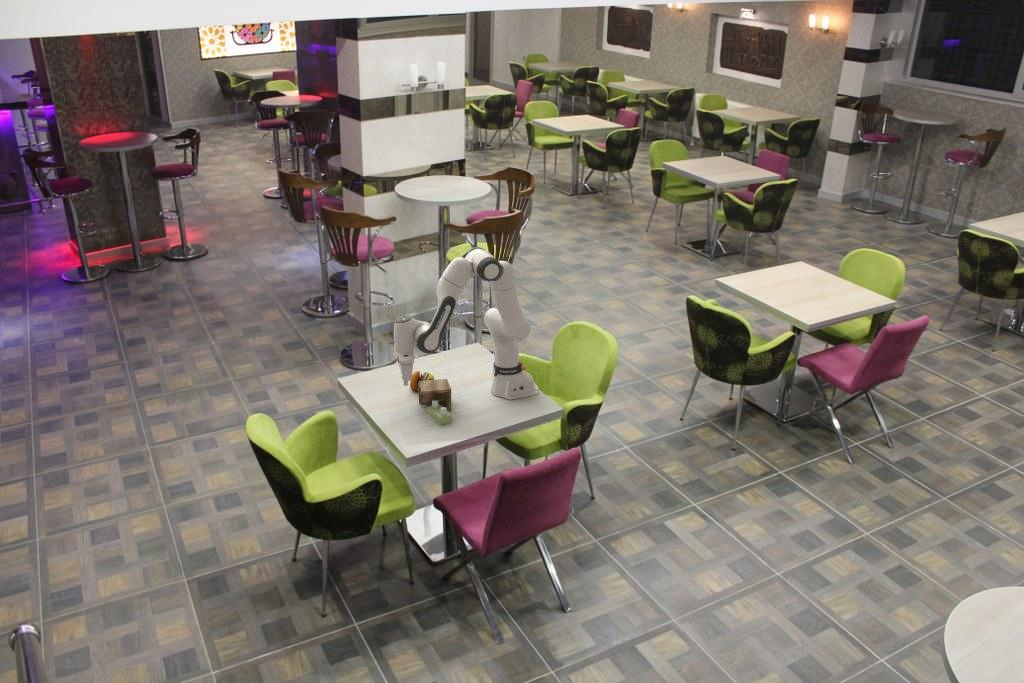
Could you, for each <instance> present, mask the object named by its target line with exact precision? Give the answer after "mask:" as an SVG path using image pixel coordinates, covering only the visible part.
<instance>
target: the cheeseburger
mask: <svg viewBox="0 0 1024 683" xmlns="http://www.w3.org/2000/svg"><path fill="white" fill-rule="evenodd" d="M427 380H435V376H434V375H433V374H431V373H430V372H429V371H425V372H424V373H422V372H420V371H419V370H418V371H414V373H412V380H411V381H410V383H409V387H410V389H411V390H412V391H414V392H415V391H417V392H419V388H418V381H427Z"/></svg>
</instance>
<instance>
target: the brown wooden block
mask: <svg viewBox="0 0 1024 683" xmlns="http://www.w3.org/2000/svg"><path fill="white" fill-rule="evenodd" d="M418 388H419V391H418V404H419V405H420V404H428V403H432V401H433V400H438V403H439V402H444V403H445V405H446V408H447V411H448V412H451V411H452V388H451V386H450V383H449V380H448V378H443V379H442V378H441V379H434V380H427V381H418Z"/></svg>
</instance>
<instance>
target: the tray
mask: <svg viewBox="0 0 1024 683" xmlns="http://www.w3.org/2000/svg"><path fill="white" fill-rule="evenodd" d="M431 403H432V404H431V405H430V406H427V407H426V414H427V415H428V416H429V417H430V418H432V420H433V421H435V423H437V424H438V425H439V426H442V425H445V424H448V423H452V422H453V415H452V414H451V413H450V411H448V408H447V406H446V407H445V406H443V405H441V404H439V402H438V400H433V401H432V402H431Z"/></svg>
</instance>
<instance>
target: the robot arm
mask: <svg viewBox="0 0 1024 683" xmlns="http://www.w3.org/2000/svg"><path fill="white" fill-rule="evenodd" d="M474 276H477V277H478V278H479V279H481V280H483V281H485V282H489V284H490V286H489V287H490V292H491V301H492V303H493V306H494V307H491V308H489V309H488V310H487V311H486V312H485V314H484V317H483V322H484V325H485V326H486V328H487V329H488V331H489V333H490V336H491V339H492V344H493V348H494V352H493V353H494V362H493V367H492V374H493V379H492V383H491V387H490V393H491V394H492V395H494V396H497V397H500V398H505V399H507V400H509V401H511V400H516V399H522V398H526V397H532V396H537V395H538V394H539V392H540V388H539V386H538V385H537V384H536V383H535V381H534V377H533V376H532V375H531V374H530V373H529V372H527V371H526V366H525V365H523V363H522V362H521V361H520V360H519V358H520V357H519V356H520V354H519V351H520V348H519V346H518V343H517V342H516V341H518V342H522V341H525V340H526V339H527V338H528V337H529V336H530V334H531V332H532V327H531V322H529V321H528V319H527V318H526V317H525V315H524V313H523V310H522V308H521V306H520V303H519V300H518V296H517V287H516V286H517V285H516V279H515V273H514V270H513V267H512V264H511V263H510V262H508V261H506V260H498V259H497V258H496V257H495V256H493V254H491V252H488V251H487V250H486V249H484V248H483V247H480V246H479V247H478V246H474V247H471V248H470V249H468V250H467V251H466V252H465V253H464V254H463V255H462V257H461V256H459V257H458V256H457V257H455V258H453V260H452V261H451V262H450V263H449V264H448V266H447V267H446V268H445V269H444V271H443V273H442V275H441V277H440V278H439V279H438V282H437V285H436V289H435V292H436V293H435V294H436V298H437V307H436V308H437V309H436V312H435V314H434V316H433V318H432V320H431V323H430V322H429V321H425V320H423V321H421V320H418V319H415V318H413V317H412V316H411V315H404V316H400V317H398V318H397V319H396V320H394V321H395V322H394V325H393V339H394V344H393V357H394V359H396V361H397V364H398V368H399V370H400V374H401V379H402V381H403V386H404V387H408V386H409V381H410V382H411V380H412V375H413V370H414V369H413V368H414V366H413V365H414V364H415V357H416V355H415V346H416V345H417V348H418V350H419V351H421V352H422V353H424V354H429V355H430V354H433V353H436V352H437V351H439V349H440V348H441V345H442V340H443V334H444V331H445V330H446V327H447V326H448V323H449V321H450V318H451V317H452V315H453V313H454V310H455V307H456V305H457V303H458V302H459V299H460V297H461V295H462V293H463V291H464V290H465V288H466V286H467V283H468V282H469V281H470V279H472V278H473V277H474Z"/></svg>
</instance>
